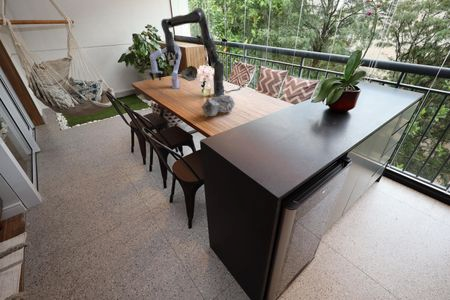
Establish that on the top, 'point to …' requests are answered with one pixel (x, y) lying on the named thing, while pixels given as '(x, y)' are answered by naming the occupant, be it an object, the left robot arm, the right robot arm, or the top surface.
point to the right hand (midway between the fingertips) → (172, 64)
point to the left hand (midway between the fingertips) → (156, 80)
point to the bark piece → (189, 73)
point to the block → (171, 62)
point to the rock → (218, 105)
